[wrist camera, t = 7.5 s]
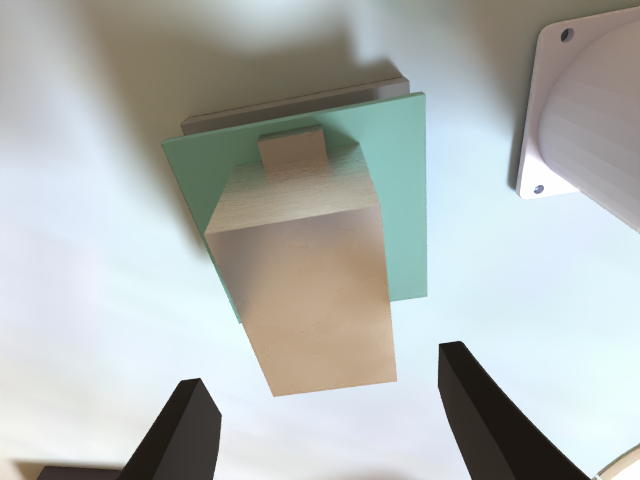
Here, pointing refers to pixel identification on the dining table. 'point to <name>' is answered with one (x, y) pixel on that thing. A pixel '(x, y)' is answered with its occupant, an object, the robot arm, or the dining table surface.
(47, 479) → the calculator
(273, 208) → the block
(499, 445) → the robot arm
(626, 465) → the lazy susan
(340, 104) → the stand
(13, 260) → the dining table surface
